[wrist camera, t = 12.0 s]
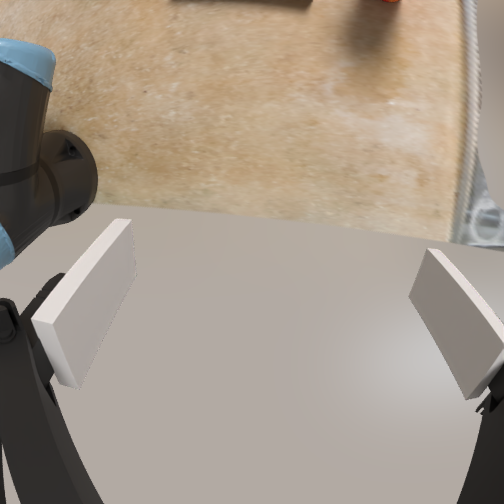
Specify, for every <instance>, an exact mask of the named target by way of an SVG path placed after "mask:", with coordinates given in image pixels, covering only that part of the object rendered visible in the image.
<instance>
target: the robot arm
mask: <svg viewBox="0 0 504 504" xmlns="http://www.w3.org/2000/svg"><path fill="white" fill-rule="evenodd" d="M55 65H56V58H55V55H54V53H53V52H52V51H51V50H49V49H48V48H46V47H43V46H40V45H36V44H33V43H28V42H24V41H19V40H13V39H6V38H0V270H1V269H2V268H3V267H5V266H6V265H8V264H10V263H11V262H12V261H13V260H14V259H15V258H16V257H17V256H18V255H19V254H20V253H21V252H22V251H23V250H24V249H25V248H26V247H27V246H28V245H30V244H31V243H32V242H33V241H34V240H35V239H36V238H37V237H38V236H39V235H40V234H42V233H43V232H44V231H45V230H46V229H47V228H48V227H51V226H56V225H60V224H65V223H69V222H71V221H73V220H75V219H76V218H78V217H79V216H80V215H81V214H82V213H84V212H85V211H86V210H87V209H88V207H89V206H90V205H91V203H92V201H93V199H94V197H95V194H96V190H97V182H98V176H97V168H96V164H95V161H94V158H93V156H92V153H91V152H90V150H89V148H88V147H87V145H86V144H85V143H84V142H83V141H82V140H81V139H80V138H79V137H78V136H76V135H74V134H73V133H71V132H68V131H64V130H54V131H50V132H47V133H44V134H43V129H44V123H45V117H46V112H47V106H48V101H49V96H50V92H52V89H53V88H52V80H53V74H54V70H55ZM136 276H137V273H136V263H135V253H134V241H133V227H132V220H131V219H115V220H114V221H113V222H112V223H111V224H110V225H109V226H108V227H107V228H106V229H105V230H104V231H103V233H102V234H101V235H100V236H99V237H98V238H97V239H96V240H95V241H94V242H93V243H92V245H91V246H90V247H89V248H88V249H87V250H86V251H85V253H84V254H83V255H82V256H81V257H80V258H79V259H78V261H77V262H76V263H75V264H74V265H73V266H72V267H71V269H70V270H69V271H68V272H67V274H65V273H59V274H57V275H56V276H54V277H53V278H51V279H50V280H49V281H48V282H47V283H46V284H45V285H44V286H43V288H42V290H41V291H39V292H38V294H37V295H36V298H34V299H33V300H32V301H31V302H30V304H29V305H28V306H27V307H26V309H25V310H24V311H23V313H22V314H21V315H20V316H19V313H18V311H17V308H16V306H15V303H14V302H13V301H12V300H10V299H7V298H0V504H6V498H5V490H4V479H3V465H2V445H3V448H4V452H5V456H6V460H7V464H8V467H9V470H10V474H11V477H12V480H13V483H14V486H15V489H16V492H17V494H18V498H19V500H20V503H21V504H104V503H103V501H102V500H101V498H100V496H99V494H98V492H97V491H96V489H95V487H94V485H93V483H92V481H91V479H90V477H89V475H88V473H87V471H86V469H85V467H84V465H83V463H82V461H81V459H80V457H79V454H78V452H77V450H76V448H75V446H74V443H73V441H72V439H71V436H70V434H69V432H68V429H67V426H66V424H65V421H64V419H63V416H62V413H61V410H60V408H59V405H58V402H57V399H56V397H55V393H54V390H53V387H52V385H51V384H50V382H49V381H50V379H51V377H52V376H53V374H54V373H55V375H56V377H57V379H58V381H59V383H60V384H62V385H65V386H68V387H72V388H75V389H80V388H81V385H82V383H83V381H84V379H85V377H86V375H87V372H88V370H89V368H90V366H91V364H92V362H93V360H94V357H95V355H96V353H97V351H98V349H99V347H100V345H101V342H102V341H103V339H104V337H105V335H106V333H107V331H108V329H109V327H110V325H111V323H112V321H113V319H114V317H115V315H116V313H117V311H118V309H119V307H120V306H121V304H122V302H123V300H124V298H125V296H126V294H127V292H128V291H129V289H130V287H131V285H132V283H133V281H134V280H135V278H136ZM409 298H410V300H411V301H412V303H413V305H414V306H415V308H416V310H417V311H418V313H419V315H420V316H421V318H422V319H423V321H424V323H425V325H426V326H427V328H428V330H429V332H430V333H431V335H432V337H433V339H434V340H435V342H436V344H437V346H438V348H439V349H440V351H441V353H442V355H443V357H444V359H445V360H446V362H447V364H448V366H449V368H450V370H451V372H452V374H453V376H454V377H455V379H456V381H457V383H458V385H459V387H460V389H461V391H462V393H463V395H464V397H465V400H468V399H472V398H477V397H479V396H480V395H481V394H482V393H483V391H484V390H485V389H486V388H487V386H488V387H489V389H490V391H491V392H490V393H489V394H488V396H487V397H486V398H485V399H484V401H483V402H482V403H481V404H480V405H479V406H478V408H477V409H476V412H478V411H479V410H480V409H481V408H484V410H483V411H482V412H481V413H480V414H481V415H483V416H482V422H481V425H480V430H479V434H478V438H477V442H476V446H475V450H474V454H473V457H472V461H471V464H470V467H469V471H468V473H467V476H466V479H465V482H464V485H463V488H462V491H461V494H460V496H459V499H458V502H457V504H504V324H503V323H502V322H501V321H500V319H499V318H498V317H497V315H496V314H495V313H494V312H493V310H492V309H491V308H490V307H489V306H488V304H487V303H486V302H485V301H484V300H483V298H482V297H481V296H480V295H479V293H478V292H477V291H476V290H475V289H474V288H473V286H472V285H471V284H470V283H469V282H468V281H467V279H466V278H465V277H464V276H463V275H462V274H461V273H460V272H459V271H458V269H457V268H456V267H455V266H454V265H453V264H452V263H451V262H450V261H449V260H448V259H447V257H445V255H444V254H443V253H442V252H441V251H440V250H438V249H430V248H427V249H426V253H425V255H424V258H423V261H422V264H421V266H420V269H419V272H418V274H417V277H416V280H415V282H414V284H413V287H412V290H411V292H410V294H409Z"/></svg>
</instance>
